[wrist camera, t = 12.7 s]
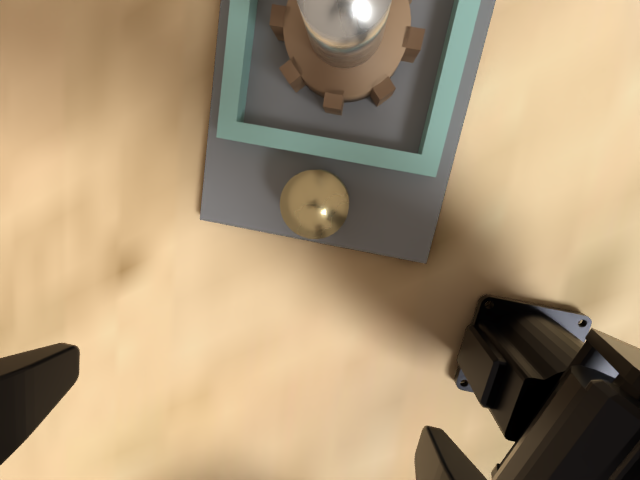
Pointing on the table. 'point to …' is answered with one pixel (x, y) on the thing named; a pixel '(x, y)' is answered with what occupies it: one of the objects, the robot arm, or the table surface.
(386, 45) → the planet gear
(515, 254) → the table surface
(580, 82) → the table surface
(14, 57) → the table surface
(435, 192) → the carrier plate
